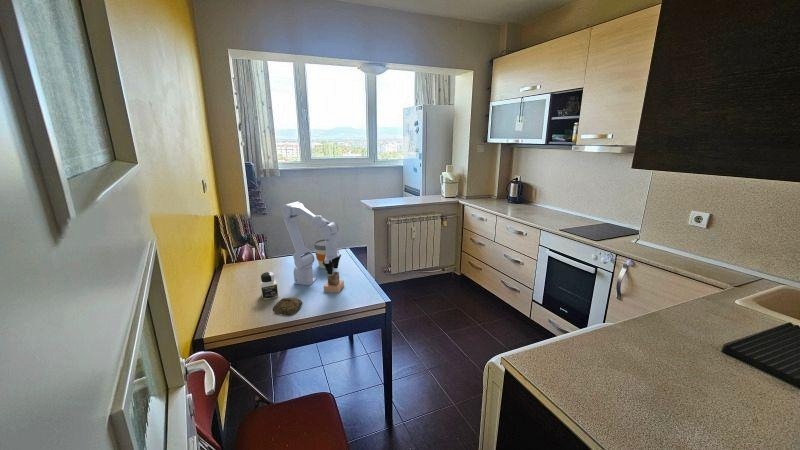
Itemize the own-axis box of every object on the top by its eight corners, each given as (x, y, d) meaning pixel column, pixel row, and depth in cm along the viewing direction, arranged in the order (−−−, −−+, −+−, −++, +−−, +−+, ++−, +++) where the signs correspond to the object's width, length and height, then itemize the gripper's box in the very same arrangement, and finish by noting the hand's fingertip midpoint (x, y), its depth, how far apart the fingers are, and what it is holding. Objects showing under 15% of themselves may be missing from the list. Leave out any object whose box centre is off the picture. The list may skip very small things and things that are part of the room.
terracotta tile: (323, 291, 170) (323, 286, 170) (329, 284, 178) (329, 279, 177) (338, 292, 169) (338, 287, 168) (344, 285, 176) (343, 280, 176)
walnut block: (328, 284, 171) (327, 275, 169) (331, 281, 175) (330, 271, 174) (336, 285, 170) (335, 275, 169) (339, 281, 174) (338, 272, 173)
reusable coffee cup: (316, 262, 207) (314, 240, 203) (336, 260, 210) (334, 238, 206) (316, 270, 195) (314, 246, 191) (337, 268, 198) (336, 244, 194)
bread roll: (305, 303, 159) (305, 294, 158) (293, 317, 148) (292, 307, 146) (281, 301, 162) (280, 291, 160) (267, 314, 150) (266, 304, 149)
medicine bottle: (263, 300, 162) (260, 277, 158) (261, 294, 168) (258, 272, 165) (278, 296, 165) (275, 274, 162) (276, 291, 171) (273, 269, 168)
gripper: (333, 252, 159) (335, 277, 163) (343, 242, 173) (345, 266, 177) (319, 251, 161) (321, 276, 164) (331, 241, 174) (332, 265, 178)
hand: (332, 271), depth 171 cm, fingers open, 7 cm apart
